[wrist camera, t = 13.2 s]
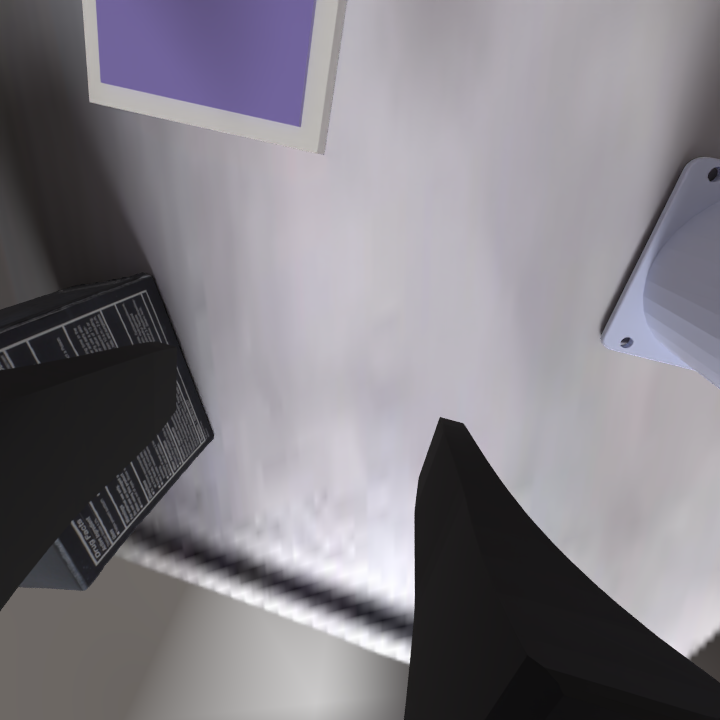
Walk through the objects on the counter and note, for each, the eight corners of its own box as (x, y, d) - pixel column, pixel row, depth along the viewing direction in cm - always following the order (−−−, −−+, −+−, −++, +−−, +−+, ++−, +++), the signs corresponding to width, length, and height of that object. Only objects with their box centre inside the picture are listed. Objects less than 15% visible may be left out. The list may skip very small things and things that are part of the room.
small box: (53, 288, 23) (-212, 367, 14) (154, 269, 22) (-65, 344, 12) (129, 446, 27) (-36, 593, 18) (218, 439, 26) (91, 596, 16)
